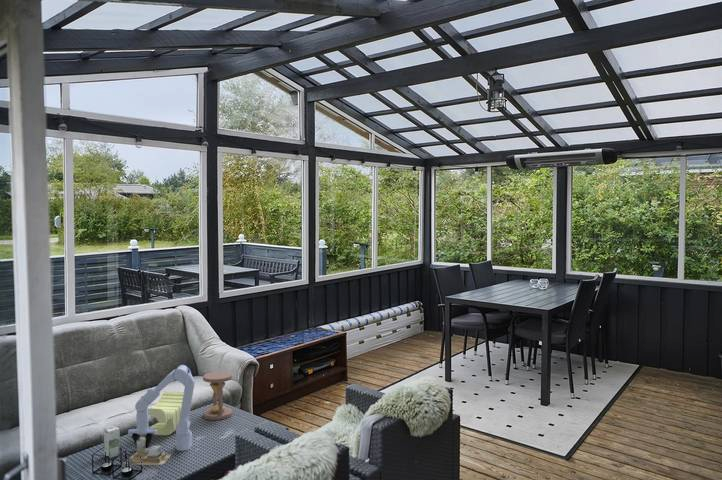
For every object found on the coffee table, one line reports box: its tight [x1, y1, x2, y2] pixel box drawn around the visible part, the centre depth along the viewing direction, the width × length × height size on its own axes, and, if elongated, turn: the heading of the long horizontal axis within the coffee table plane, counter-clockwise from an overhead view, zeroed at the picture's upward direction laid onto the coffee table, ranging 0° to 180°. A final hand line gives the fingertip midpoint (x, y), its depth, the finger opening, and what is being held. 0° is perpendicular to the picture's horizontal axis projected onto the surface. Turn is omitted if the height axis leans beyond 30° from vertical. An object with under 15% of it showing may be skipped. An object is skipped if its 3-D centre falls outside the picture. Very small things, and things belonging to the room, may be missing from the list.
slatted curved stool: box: [148, 390, 184, 436], centre depth 318 cm, size 30×16×18 cm, turn 173°
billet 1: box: [136, 436, 150, 452], centre depth 289 cm, size 4×4×6 cm
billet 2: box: [147, 445, 162, 458], centre depth 278 cm, size 4×4×6 cm
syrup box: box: [103, 425, 121, 460], centre depth 284 cm, size 6×6×14 cm
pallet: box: [122, 450, 173, 466], centre depth 278 cm, size 13×20×3 cm, turn 88°
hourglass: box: [202, 371, 233, 421], centre depth 343 cm, size 18×18×25 cm
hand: (142, 447), depth 289 cm, fingers closed on billet 1, 4 cm apart
